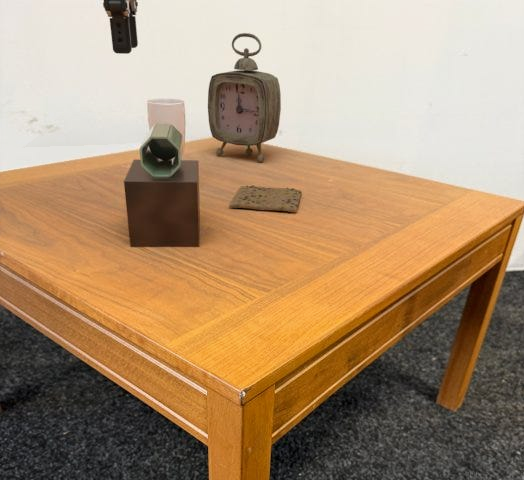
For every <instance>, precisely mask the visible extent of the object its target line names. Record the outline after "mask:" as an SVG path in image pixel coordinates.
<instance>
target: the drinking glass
mask: <svg viewBox="0 0 524 480" xmlns="http://www.w3.org/2000/svg"><path fill="white" fill-rule="evenodd" d="M146 103H147V105H146V106H147V107H146V109H147V125H148V131H149V130H150V129H151V128H152V127H153V126H154V125H155V124H157V123H160V124H172V125H173V126H174V127H175V128H176V129H177V130H178V131H179V132H180V133H181V134H182V136H183V155H182V160H185V147H186V108H185V107H186V106H185V100H183V99H180V98H171V97H160V98H159V97H157V98H150V99H148V100H147V101H146ZM171 160H172V159H171Z"/></svg>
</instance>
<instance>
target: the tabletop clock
mask: <svg viewBox="0 0 524 480" xmlns="http://www.w3.org/2000/svg"><path fill="white" fill-rule="evenodd" d="M240 38H252V39H253V40H255V41H256V42H257V43H258V44H257V45H258V46H259V47H258V49H257V50H255V51H253V52H250V50H249V48H244V49H243V51H240V50H238V49H237V48H235V43H236V41H237V40H238V39H240ZM231 47H232V50H233V51H234V53H235V54H237V55H239V56H241V58H239V59H237V60H236V62H235V64H234V66H233V69H234V70H232V71H231V70H230V71H226V72H219V73H215V74H213V75H211V77H210V80H209V85H208V89H207V90H208V92H207V95H208V96H207V116H208V124H209V125H208V126H209V130H210V133H211V136H212V138H214V139H216V140H217V141H219V142H222V144H221V146H220V147H218V148H217V149H216V151H215V153H216V155H217V156H222V155H223V154H224V150H223V149H224V148H225V147H226V145H227V144H229V145H234V146H244V147H247V148H245V154H246V155H247V156H251V155H252V154H253V149H252V148H251V147H254V146H256V149H257V152H258V153H257V154H258V155H257V157H256V159H257V162H259V163H262V162H264V161H265V156H264V155H263V154H262V144H263V143H266V142H268V141H271V140H274V139H275V138H276V136H277V134H278V131H279V126H280V121H281V113H282V112H281V111H282V110H281V109H282V105H281V104H282V103H281V101H282V99H281V97H282V96H281V87H280V82H279V79H278V77H277V76H275V75H274V74H271V73H268V72H263V71H259V68H258V64H257V62H256V61H255V59H253V58H251V57H254V56H256V55H258V54H259V53H261V50H262V42H261V39H259V37H258V36H257V35H255V34H252V33H250V32H249V33H247V32H243V33H239V34H237V35H235V36H234V37H233V39H232V41H231Z"/></svg>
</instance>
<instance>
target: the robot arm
mask: <svg viewBox="0 0 524 480" xmlns="http://www.w3.org/2000/svg"><path fill="white" fill-rule="evenodd" d="M102 6H103V8H104V11H105V13H106V14H107V17H108V18H109V26H110V36H111V45H112V46H111V47H112V51H113V52H114V53H115V54H120V55H121V54H124V55H125V54H126V55H127V54H128V55H129V54H130V53H131V52H132V50H133V49H136V48H137V47H138V45H139V41H138V29H137V20H136V19H137V18H136V16H137V13H138V6H139V4H138V1H137V0H103V2H102Z"/></svg>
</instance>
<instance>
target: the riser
mask: <svg viewBox="0 0 524 480" xmlns="http://www.w3.org/2000/svg"><path fill="white" fill-rule="evenodd" d="M199 162H200V161H199V160H197V159H196V160H195V159H193V160H192V159H190V160H187V159H184V160H182V161H181V166H180V167H179V169H178V170H177V171H176V172H175V173H174V174H173V175H172V176H171V177H170V176H169V178H166V177H154V176H152V175H151V174H149V173H148V172H147V171H146V170H145V169H144V168H143V167H142V165H141V161H140V159H133V160H132V163H131V164H130V167H129V169H128V171H127V174H126V176H125V178H124V180H123V186H124V187H123V188H124V199H125V207H126V216H127V217H126V219H127V227H128V236H129V244H130V245H129V246H130V247H200V237H201V236H200V235H201V234H200V233H201V202H200V201H201V197H200V196H201V195H200V168H199V167H200V166H199V165H200V163H199Z"/></svg>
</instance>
